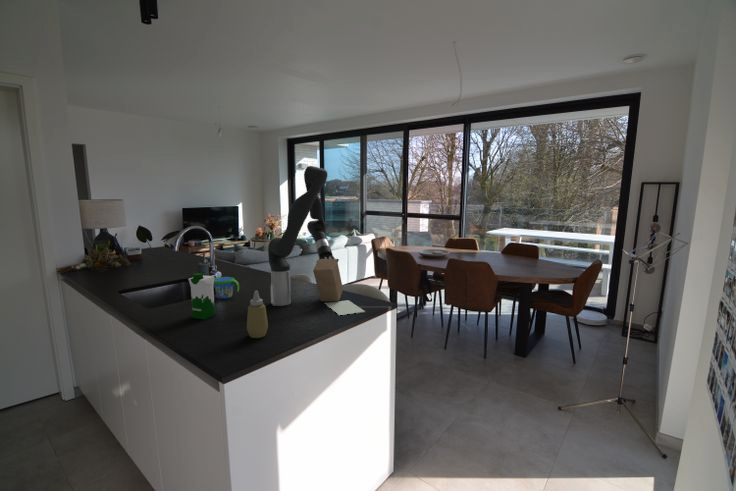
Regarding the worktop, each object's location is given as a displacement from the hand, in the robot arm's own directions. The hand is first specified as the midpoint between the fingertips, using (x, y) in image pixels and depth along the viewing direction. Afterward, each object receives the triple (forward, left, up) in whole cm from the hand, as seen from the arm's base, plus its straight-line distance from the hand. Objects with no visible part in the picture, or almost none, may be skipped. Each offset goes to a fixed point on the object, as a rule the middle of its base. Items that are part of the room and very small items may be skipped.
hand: (331, 275), depth 192 cm
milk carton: (-62, -2, -13) cm, 63 cm away
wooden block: (0, -1, -11) cm, 11 cm away
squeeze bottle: (-44, -36, -13) cm, 58 cm away
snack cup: (-51, +27, -13) cm, 59 cm away
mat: (0, -17, -13) cm, 21 cm away
